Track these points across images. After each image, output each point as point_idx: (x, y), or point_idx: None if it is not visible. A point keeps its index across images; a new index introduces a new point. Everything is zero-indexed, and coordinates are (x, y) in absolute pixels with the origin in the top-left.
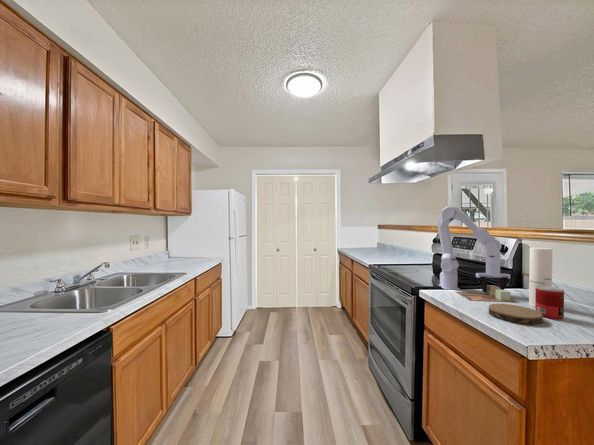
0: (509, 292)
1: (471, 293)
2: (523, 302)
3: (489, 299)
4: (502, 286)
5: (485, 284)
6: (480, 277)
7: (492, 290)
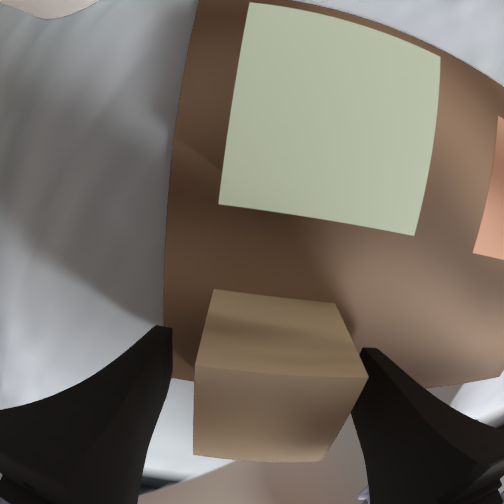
0: (270, 9)
1: (445, 360)
2: (97, 66)
3: (465, 142)
4: (136, 389)
5: (437, 413)
6: (497, 496)
7: (325, 342)
